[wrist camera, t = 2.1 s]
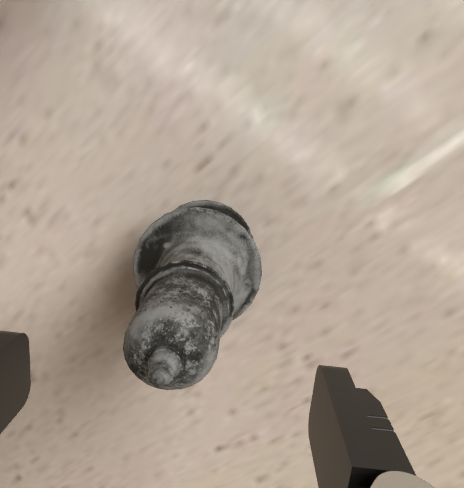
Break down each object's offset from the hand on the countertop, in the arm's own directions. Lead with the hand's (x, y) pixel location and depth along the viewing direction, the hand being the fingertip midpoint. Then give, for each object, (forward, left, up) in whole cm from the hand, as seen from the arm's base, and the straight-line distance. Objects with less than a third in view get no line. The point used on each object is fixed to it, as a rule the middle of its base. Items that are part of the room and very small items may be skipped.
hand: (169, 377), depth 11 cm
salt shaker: (0, 0, -12) cm, 12 cm away
